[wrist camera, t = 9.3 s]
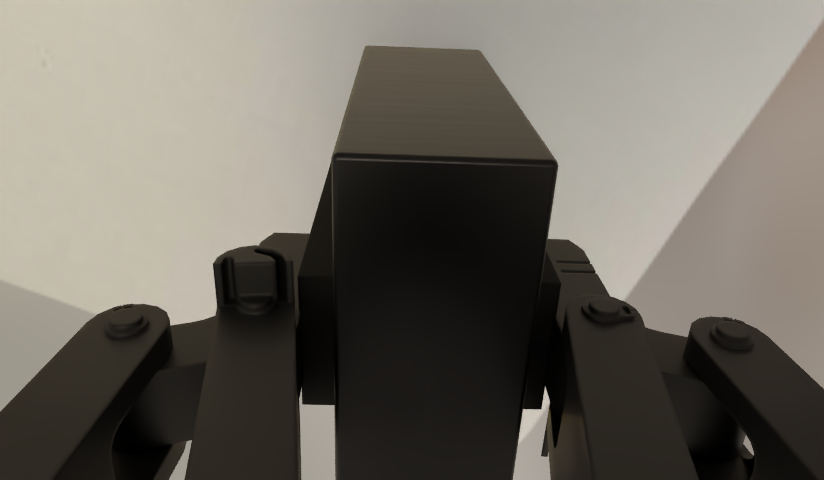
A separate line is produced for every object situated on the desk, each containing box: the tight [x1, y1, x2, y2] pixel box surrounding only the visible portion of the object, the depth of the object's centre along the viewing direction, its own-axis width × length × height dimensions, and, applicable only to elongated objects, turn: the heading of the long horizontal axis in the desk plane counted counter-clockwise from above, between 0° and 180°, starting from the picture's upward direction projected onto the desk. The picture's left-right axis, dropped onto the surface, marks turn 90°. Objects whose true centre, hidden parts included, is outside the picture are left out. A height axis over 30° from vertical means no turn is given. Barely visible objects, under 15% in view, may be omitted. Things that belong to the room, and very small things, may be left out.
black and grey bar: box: [331, 46, 558, 480], centre depth 16 cm, size 18×3×9 cm, turn 178°
